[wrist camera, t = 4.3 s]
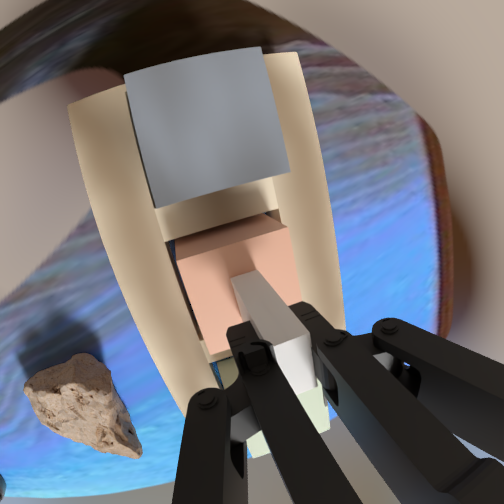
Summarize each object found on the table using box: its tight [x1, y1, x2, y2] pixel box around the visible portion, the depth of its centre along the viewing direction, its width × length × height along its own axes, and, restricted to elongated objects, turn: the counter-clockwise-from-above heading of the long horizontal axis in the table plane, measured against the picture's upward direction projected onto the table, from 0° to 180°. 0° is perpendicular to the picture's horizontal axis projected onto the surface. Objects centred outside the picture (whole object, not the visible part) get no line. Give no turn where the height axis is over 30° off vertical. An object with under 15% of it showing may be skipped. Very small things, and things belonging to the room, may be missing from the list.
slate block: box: [124, 47, 291, 209], centre depth 14 cm, size 6×6×5 cm
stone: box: [23, 353, 143, 459], centre depth 20 cm, size 9×11×5 cm
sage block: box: [216, 357, 330, 458], centre depth 20 cm, size 6×6×5 cm
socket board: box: [67, 52, 346, 418], centre depth 20 cm, size 14×26×3 cm, turn 14°
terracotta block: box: [175, 213, 302, 355], centre depth 19 cm, size 6×6×5 cm
